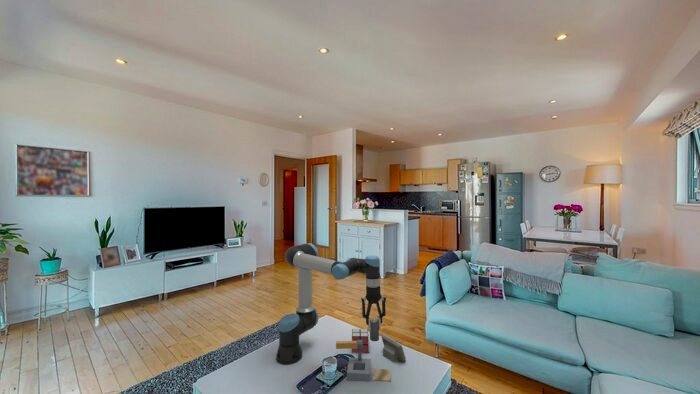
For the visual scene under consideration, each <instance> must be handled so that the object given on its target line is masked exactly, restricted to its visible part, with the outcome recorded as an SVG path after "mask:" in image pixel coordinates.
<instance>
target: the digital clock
mask: <svg viewBox="0 0 700 394" xmlns="http://www.w3.org/2000/svg"><path fill="white" fill-rule="evenodd" d="M381 340H382V343H383V347H382V356H384V357H385V358H387V360H389V361H390V362H392V363H397V362H398V361H401V362H406V360H407V359H406V355H405V352H404V349H403V345H402V344H401V343H400V342H398V341H397V340H394V339H393V338H391V337H389V336H388V335H386V334H382V335H381Z"/></svg>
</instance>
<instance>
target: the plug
mask: <svg viewBox="0 0 700 394" xmlns="http://www.w3.org/2000/svg"><path fill="white" fill-rule="evenodd" d="M370 331H371V332H369V340H370V341H372V342H377V341H379V340H380V331H379V321H378V318H370Z"/></svg>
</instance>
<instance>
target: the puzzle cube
mask: <svg viewBox="0 0 700 394" xmlns="http://www.w3.org/2000/svg"><path fill="white" fill-rule="evenodd" d="M357 340H363V348H362V354H367V353H368V354H369V353H370V351H369V349H370V347H369V343H370V342H369V340H370V338H369V330H368V328H352V329H351V341H357ZM351 353H353V354H356V353H357V354H358V349H351Z"/></svg>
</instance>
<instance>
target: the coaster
mask: <svg viewBox="0 0 700 394" xmlns="http://www.w3.org/2000/svg"><path fill="white" fill-rule="evenodd" d="M372 376H373V377H372V381H374V382H379V381H380V382H392V379H391V377H392V376H391V369H387V368H385V369H383V368H373V372H372Z"/></svg>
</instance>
